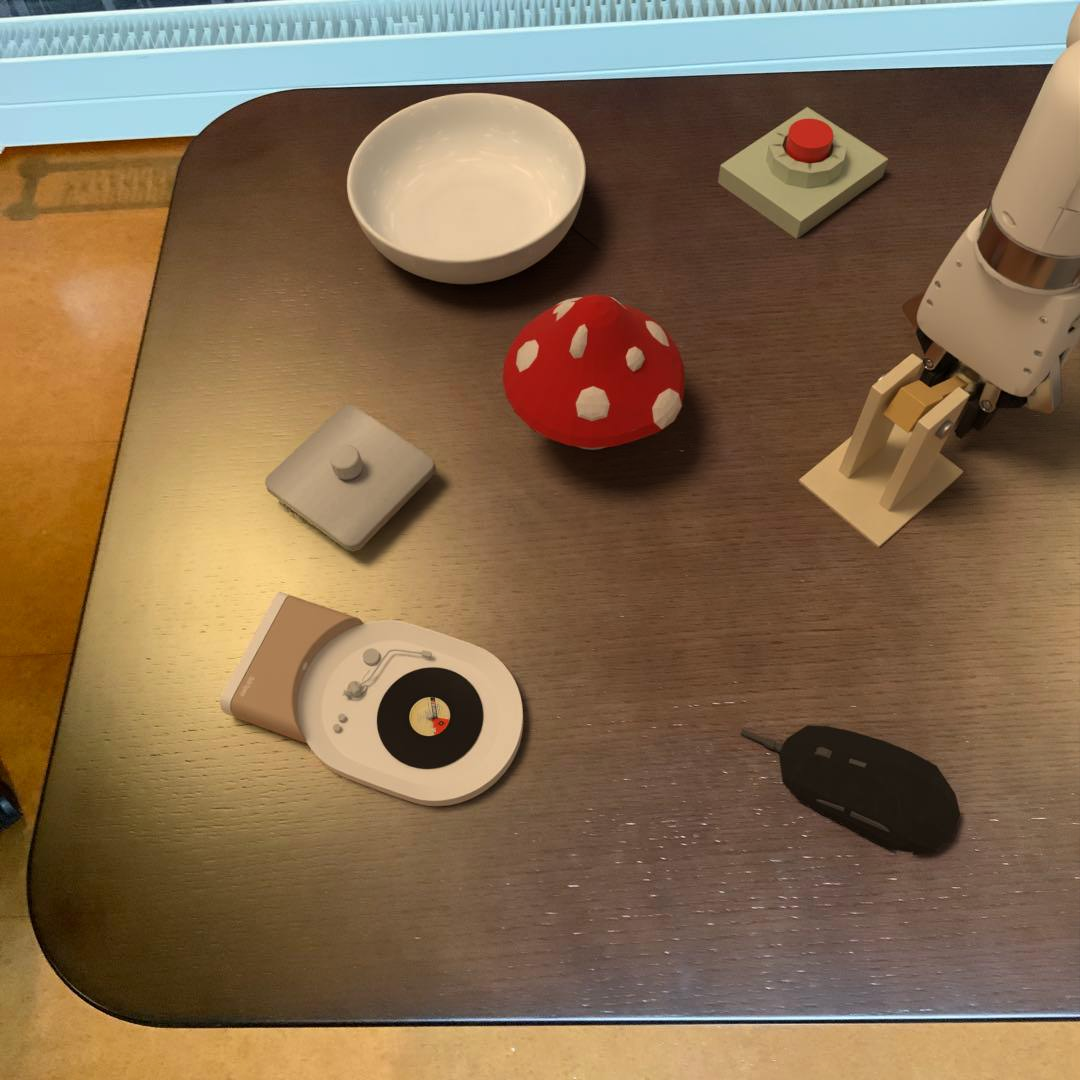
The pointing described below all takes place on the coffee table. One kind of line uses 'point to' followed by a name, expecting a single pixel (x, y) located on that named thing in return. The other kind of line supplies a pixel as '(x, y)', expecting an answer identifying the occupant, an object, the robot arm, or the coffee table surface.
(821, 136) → the lamp button
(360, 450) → the light switch
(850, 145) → the lamp box
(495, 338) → the coffee table surface
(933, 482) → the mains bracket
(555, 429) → the decorative mushroom
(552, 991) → the coffee table surface
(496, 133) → the serving bowl
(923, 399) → the lever
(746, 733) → the gaming mouse
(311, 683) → the record player
